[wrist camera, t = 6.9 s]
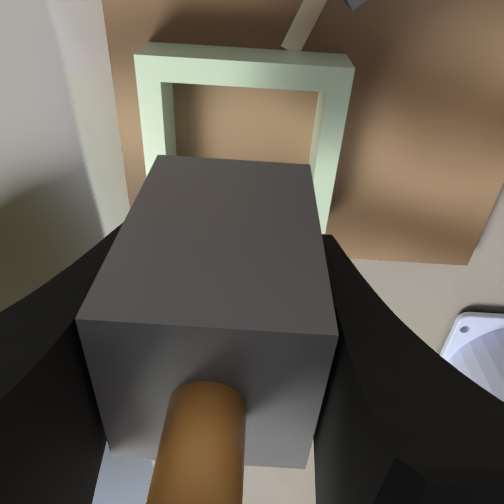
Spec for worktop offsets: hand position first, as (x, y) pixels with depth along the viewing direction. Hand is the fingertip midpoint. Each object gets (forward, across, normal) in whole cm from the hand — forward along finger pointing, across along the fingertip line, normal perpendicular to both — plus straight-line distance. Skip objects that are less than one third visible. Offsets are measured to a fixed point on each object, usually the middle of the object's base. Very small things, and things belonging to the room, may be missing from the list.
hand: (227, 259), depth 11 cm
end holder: (+8, 0, 0) cm, 8 cm away
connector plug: (+2, 0, 0) cm, 2 cm away
